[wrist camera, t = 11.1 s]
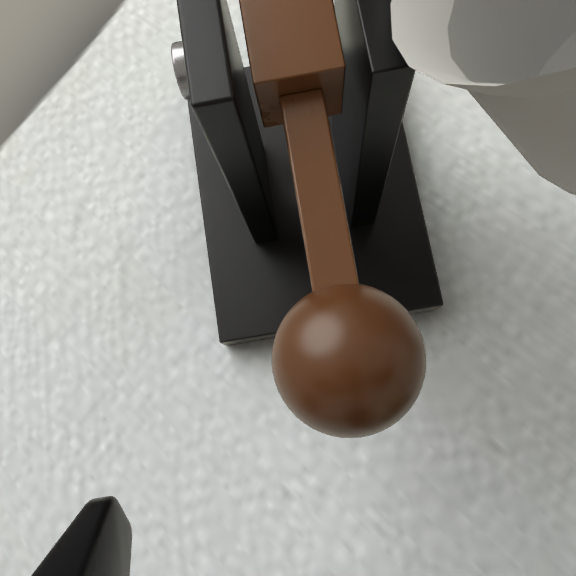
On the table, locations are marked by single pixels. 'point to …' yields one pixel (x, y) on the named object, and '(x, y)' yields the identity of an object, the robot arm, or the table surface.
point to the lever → (327, 239)
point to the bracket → (278, 176)
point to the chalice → (504, 68)
